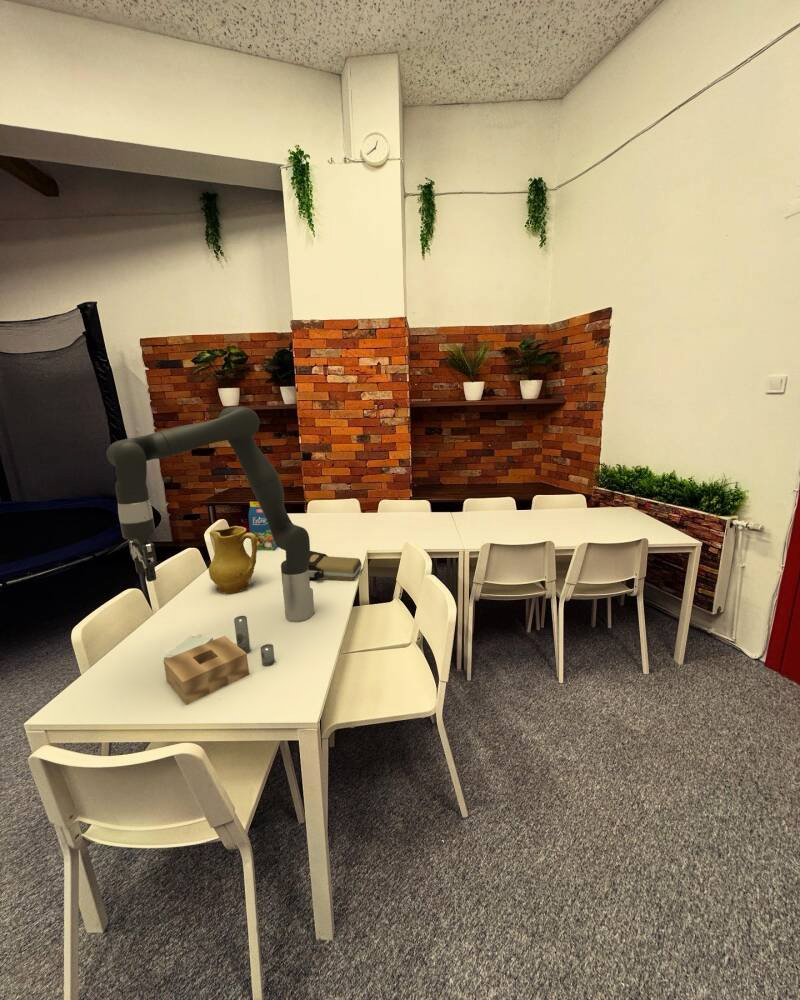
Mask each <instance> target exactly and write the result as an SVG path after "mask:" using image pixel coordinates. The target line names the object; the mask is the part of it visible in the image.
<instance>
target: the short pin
mask: <svg viewBox="0 0 800 1000" xmlns="http://www.w3.org/2000/svg"><path fill="white" fill-rule="evenodd" d="M260 657H261V665H262V666H263V667H271V666H274V664H275V663H276V660H275V659H276V658H275V650H274V644H272V643H266V644H263V645H262V646H261V647H260Z"/></svg>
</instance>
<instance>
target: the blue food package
mask: <svg viewBox="0 0 800 1000" xmlns="http://www.w3.org/2000/svg"><path fill="white" fill-rule="evenodd" d="M248 524H249V525H248V527H249V533H253V534H255V535H256V538H257V551H275V550H276V549H278V548H279V547H278V546H277V545H276V543H275V541H274V539H273V536H272V533H271V530H270V527H269V524H268V521H267V519H266V517H265V515H264V513H263V511H262V509H261V507H260V505H259V503H258V501H249V509H248ZM250 542H251V544H250V545H251V546H252V541H251V540H250Z"/></svg>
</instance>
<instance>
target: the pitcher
mask: <svg viewBox="0 0 800 1000" xmlns="http://www.w3.org/2000/svg"><path fill="white" fill-rule="evenodd" d="M209 534H210V536H211V537H212V539H213V541H214V555H213V557H212V561H211V562H210V564H209V567H208V574H209V575H208V576H209V579H210V580H211V582H213V583H214V584H215V585H217V586H218V587H217V591H218V592H219V593H222V594H225V595H226V594H235V593H240V592H241V591H244V590H246V589H248V588H249V587H250V585H251V584H250V583H249V581H250V580H251V578H252V576H253V574H254V573H255V566H256V563H257V553H258V550H257V538H256V535H255V534H253V533H250V532H247V528H246V527H244V526H238V525H233V526H229V527H227V528H222V529H214V530H211V531H209ZM246 539H249V540H250V542H251V541H252V545H251V556H250V555H249V554H248V553H247V551H246V549H245V548H246V547H245V545H244V543H245V541H246Z"/></svg>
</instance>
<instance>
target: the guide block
mask: <svg viewBox="0 0 800 1000" xmlns="http://www.w3.org/2000/svg"><path fill="white" fill-rule="evenodd" d="M248 660H249V659H248V654H247V653H246V652H244V651H243V650H242V649H241V648H239V647H238V646H237V643H235V642H233V641H232V640H230V639H229V638H228V637H227V636H226V635H223V636H220V637H218V638H216V639H213V641H210V642H208V643H205V644H203V645H200V646H198V647H195V648H193V649H190V650H188V651H185V652H183V653H180V654H178V655H175V656H173V657H170V658H168V659H165V660H164V659H163V661H162V662H163V666H164V673H165V679H166V682H167V683H168V685H169V686H170V687H171V689H172V690H173V691H174V692H175V693H176V694H177V695H178V697H179V698H180V699H181V700H182V701H183V703H184V704H185V705H189V704H191V703H193V702H195V701H197V700H199V699H201V698H203V697H205V696H207V695H209V694H211V693H213V692H216V691H217V690H219V689H222V688H224V687H226V686H229V684H232V683H234V682H237V681H239V680H240V679H242V678H245V677H247V676H249V675H250V670H249V661H248Z"/></svg>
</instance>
